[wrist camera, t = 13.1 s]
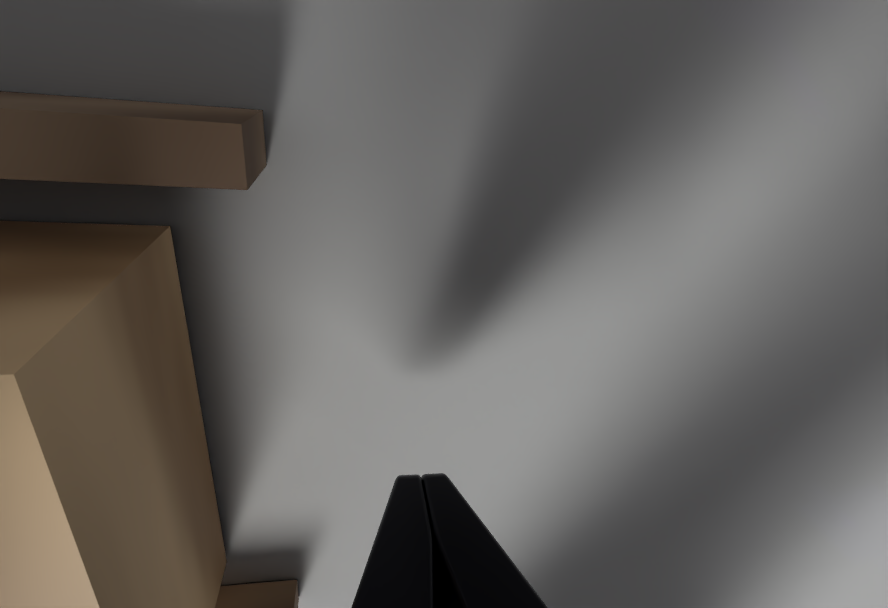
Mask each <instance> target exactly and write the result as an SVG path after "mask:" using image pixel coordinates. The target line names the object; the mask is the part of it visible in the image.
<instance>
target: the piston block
mask: <svg viewBox="0 0 888 608" xmlns="http://www.w3.org/2000/svg"><path fill="white" fill-rule="evenodd" d="M226 563H227V560H226V554H225V548H224V543H223V537H222V531H221V525H220V519H219V513H218V507H217V501H216V495H215V489H214V483H213V477H212V472H211V466H210V460H209V454H208V448H207V442H206V436H205V430H204V424H203V418H202V412H201V406H200V401H199V395H198V389H197V383H196V377H195V371H194V365H193V359H192V353H191V347H190V341H189V335H188V330H187V324H186V318H185V312H184V306H183V300H182V294H181V288H180V282H179V276H178V270H177V264H176V259H175V253H174V247H173V241H172V235H171V229H170V226H151V225H120V224H89V223H58V222H27V221H0V608H215V605H216V602H217V598H218V594H219V590H220V586H221V582H222V578H223V574H224V570H225V566H226Z"/></svg>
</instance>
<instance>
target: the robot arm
mask: <svg viewBox="0 0 888 608" xmlns="http://www.w3.org/2000/svg"><path fill="white" fill-rule="evenodd" d="M352 608H547V606H546V605H545V604H544V602H543V601H542V600H541V598H540V597H539V596H538V595H537V593H536V592H535V591H534V589H533V588H532V587H531V585H530V584H529V583H528V581H527V580H526V579H525V577H524V576H523V575H522V574H521V572H520V571H519V570H518V568H517V567H516V566H515V564H514V563H513V562H512V560H511V559H510V558H509V557H508V555H507V554H506V553H505V551H504V550H503V549H502V547H501V546H500V545H499V543H498V542H497V541H496V539H495V538H494V537H493V536H492V534H491V533H490V532H489V530H488V529H487V528H486V526H485V525H484V524H483V522H482V521H481V520H480V519H479V517H478V516H477V515H476V513H475V512H474V511H473V509H472V508H471V507H470V505H469V504H468V503H467V501H466V500H465V499H464V498H463V496H462V495H461V494H460V492H459V491H458V490H457V488H456V487H455V486H454V484H453V483H452V482H451V480H450V479H449V478H448V477H447V476H446V475H445V474H443V473H438V474H424V475H423V476H422V477H420V476H419V475H400V476H398V477H397V478H396V480H395V483H394V486H393V489H392V492H391V494H390V497H389V500H388V503H387V506H386V509H385V512H384V515H383V518H382V521H381V523H380V526H379V529H378V532H377V535H376V538H375V541H374V544H373V547H372V550H371V553H370V555H369V558H368V561H367V564H366V567H365V570H364V573H363V576H362V579H361V582H360V585H359V587H358V590H357V593H356V596H355V599H354V602H353V605H352Z"/></svg>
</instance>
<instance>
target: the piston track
mask: <svg viewBox="0 0 888 608" xmlns="http://www.w3.org/2000/svg"><path fill="white" fill-rule="evenodd" d="M266 165H267V164H266V151H265V137H264V123H263V110H254V109H240V108H226V107H212V106H198V105H184V104H170V103H157V102H143V101H129V100H115V99H101V98H87V97H73V96H59V95H45V94H31V93H18V92H4V91H0V179H16V180H38V181H60V182H83V183H105V184H127V185H149V186H171V187H193V188H216V189H238V190H248V189H249V187H250V186H251V185H252V183H253V182H254V181H255V180H256V178H257V177H258V176H259V174H260V173H261V172H262V171H263V169H264V168H265V167H266ZM298 601H299V598H298V584H297V580H288V581H276V582H264V583H253V584H241V585H230V586H220V590H219V594H218V598H217V602H216V605H215V608H298Z"/></svg>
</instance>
